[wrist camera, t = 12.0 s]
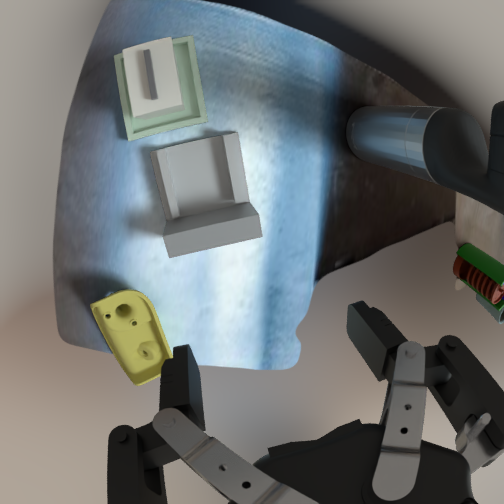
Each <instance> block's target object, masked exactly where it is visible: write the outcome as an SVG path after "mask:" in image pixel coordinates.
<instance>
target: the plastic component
mask: <svg viewBox="0 0 504 504" xmlns="http://www.w3.org/2000/svg"><path fill="white" fill-rule="evenodd" d="M90 307H91V310H92V312H93V315H94V317H95V320H96V322H97V324H98V326H99V328H100V330H101V332H102V334H103V336H104V338H105V340H106V341H107V343H108V345H109V347H110V349H111V351H112V352H113V354H114V356H115V357H116V359H117V361H118V362H119V364H120V366H121V367H122V368H123V370H124V371H125V373H126V374H127V376H128V377H129V378H130V380H131V381H132V382H133V383H134V384H135V385H137V386H140V385H142V384H145V383H147V382H149V381H151V380H153V379H155V378H157V377H159V376H161V367H162V365H163V363H164V361H165V359H169V358H173V355H172V353H171V350H170V348H169V345H168V343H167V340H166V337H165V335H164V332H163V329H162V327H161V324H160V321H159V318H158V316H157V313H156V311H155V308H154V306H153V304H152V303H151V301H150V300H149V299H148V298H147V297H146V296H145V295H144V294H143V293H141V292H139V291H137V290H131V289H125V290H121V291H117V292H115V293H113V294H112V293H111V294H110V295H109V296H107V297H105V298H103V299H101V300H98V301H96V302H94V303H92V304H90ZM106 314H110V315H109V316H108V317H106V316H105V315H106ZM133 321H134V322H133ZM144 351H146V352H144Z"/></svg>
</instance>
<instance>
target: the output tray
mask: <svg viewBox="0 0 504 504" xmlns="http://www.w3.org/2000/svg"><path fill="white" fill-rule="evenodd" d="M172 43H173V47H174V51H175V55H176V60H177V66H178V72H179V78H180V84H181V89H182V95H183V100H184V106H185V110H183V111H179V112H175V113H171V114H167V115H163V116H159V117H155V118H151V119H148V120H146V119H141V118H135V117H133V113H132V107H131V102H130V96H129V90H128V84H127V78H126V71H125V65H124V57H123V53H120V54H117V55H114V60H115V68H116V75H117V81H118V88H119V94H120V100H121V105H122V111H123V116H124V121H125V126H126V131H127V136H128V141H133V140H136V139H140V138H143V137H147V136H151V135H154V134H158V133H162V132H166V131H170V130H174V129H178V128H182V127H187V126H191V125H196V124H201V123H205V122H208V119H207V113H206V108H205V102H204V97H203V91H202V85H201V80H200V74H199V68H198V63H197V57H196V51H195V45H194V39H193V35H191V36H186V37H181V38H176V39H172Z"/></svg>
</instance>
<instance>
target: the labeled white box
mask: <svg viewBox="0 0 504 504" xmlns="http://www.w3.org/2000/svg"><path fill="white" fill-rule="evenodd" d="M123 57H124V65H125V71H126V78H127V84H128V90H129V96H130V102H131V107H132V113H133V117H135V118H141V119H146V120H148V119H151V118H155V117H159V116H163V115H167V114H171V113H175V112H179V111H183V110H185V106H184V100H183V95H182V89H181V84H180V78H179V72H178V66H177V60H176V55H175V51H174V47H173V43H172V39H171V37H167V38H162V39H158V40H154V41H150V42H147V43H143V44H139V45H136V46H133V47H129V48H126V49H123Z"/></svg>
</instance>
